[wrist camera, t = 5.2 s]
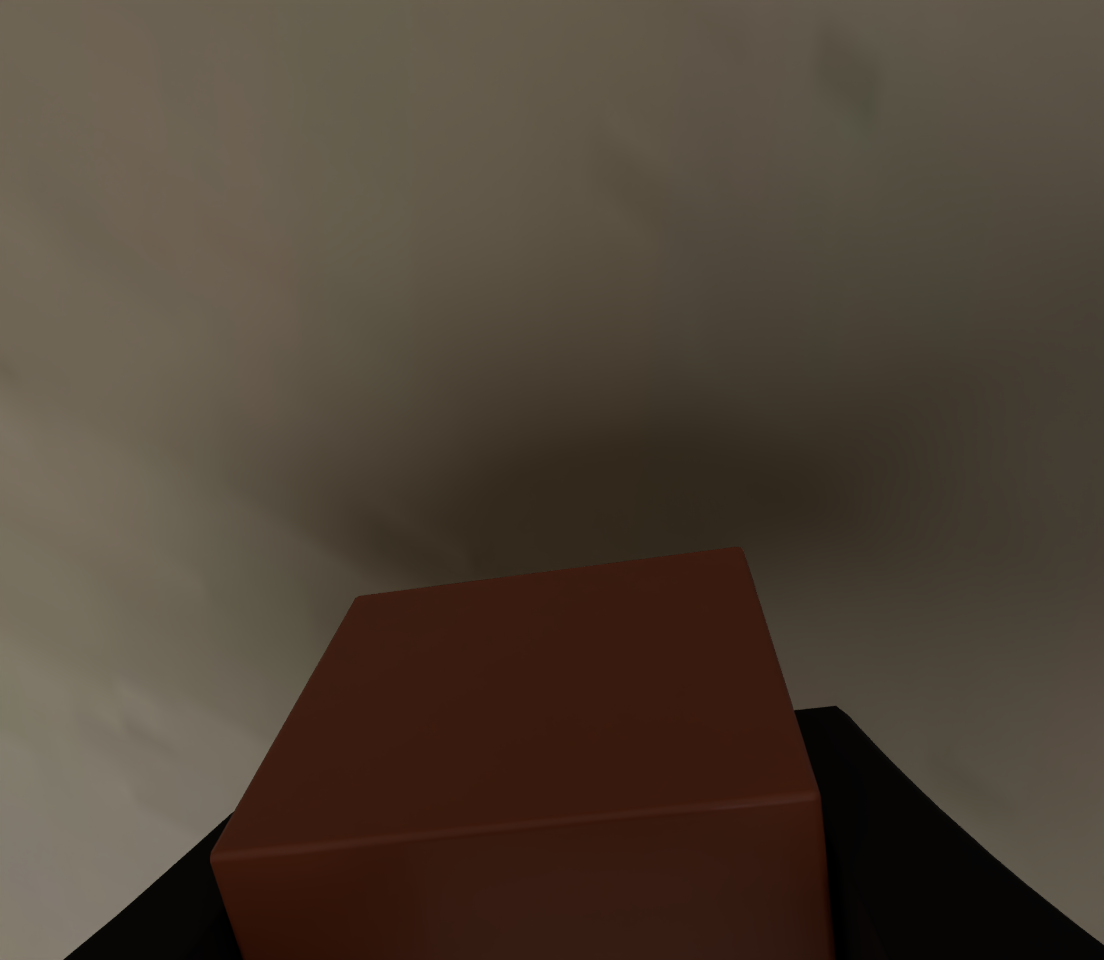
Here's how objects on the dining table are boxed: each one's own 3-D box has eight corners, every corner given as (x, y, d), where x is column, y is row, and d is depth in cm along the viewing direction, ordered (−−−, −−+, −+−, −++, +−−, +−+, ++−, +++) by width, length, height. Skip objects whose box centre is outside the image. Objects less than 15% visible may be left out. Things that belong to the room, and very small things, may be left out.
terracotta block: (742, 543, 10) (821, 793, 6) (780, 870, 11) (867, 1250, 7) (354, 593, 10) (204, 857, 7) (432, 904, 12) (344, 1276, 8)
